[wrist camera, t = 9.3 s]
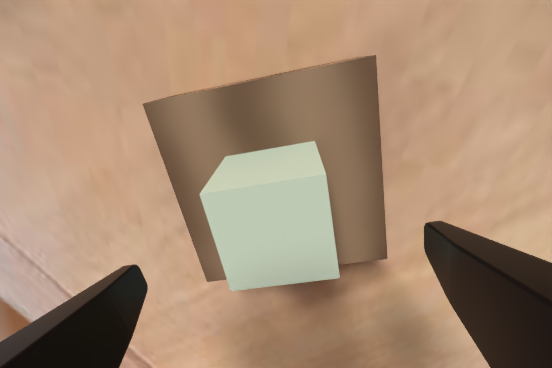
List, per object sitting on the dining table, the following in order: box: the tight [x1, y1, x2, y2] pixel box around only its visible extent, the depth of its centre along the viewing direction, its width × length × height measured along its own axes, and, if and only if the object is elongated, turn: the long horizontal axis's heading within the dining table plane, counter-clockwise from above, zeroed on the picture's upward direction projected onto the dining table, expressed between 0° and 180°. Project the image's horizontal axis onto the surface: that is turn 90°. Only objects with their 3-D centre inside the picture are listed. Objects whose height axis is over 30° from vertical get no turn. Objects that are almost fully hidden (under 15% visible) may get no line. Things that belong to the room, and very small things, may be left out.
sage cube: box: [199, 141, 340, 291], centre depth 14 cm, size 5×5×5 cm
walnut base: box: [143, 55, 387, 282], centre depth 18 cm, size 12×12×4 cm
